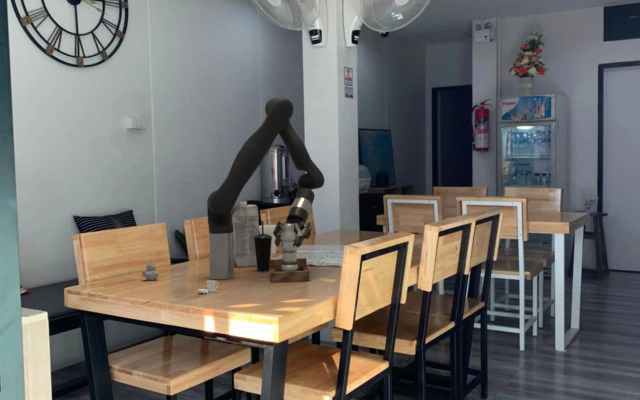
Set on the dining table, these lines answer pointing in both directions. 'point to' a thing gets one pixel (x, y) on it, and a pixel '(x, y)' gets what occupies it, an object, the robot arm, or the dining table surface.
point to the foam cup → (269, 230)
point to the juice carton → (245, 233)
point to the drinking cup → (263, 250)
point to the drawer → (288, 272)
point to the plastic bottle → (289, 248)
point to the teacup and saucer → (209, 287)
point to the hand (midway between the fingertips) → (286, 245)
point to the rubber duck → (150, 272)
